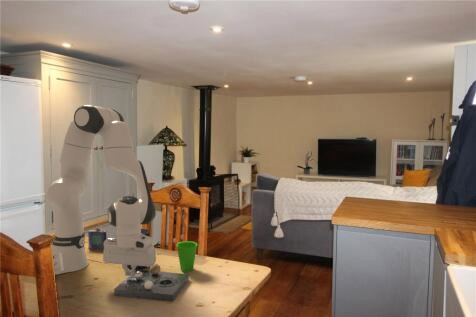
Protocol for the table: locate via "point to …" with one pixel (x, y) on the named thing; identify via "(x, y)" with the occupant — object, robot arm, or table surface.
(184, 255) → the cup
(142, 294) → the plate
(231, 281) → the table surface
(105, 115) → the robot arm
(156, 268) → the wood ball
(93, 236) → the flask
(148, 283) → the plastic ball
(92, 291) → the table surface
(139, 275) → the steel ball
